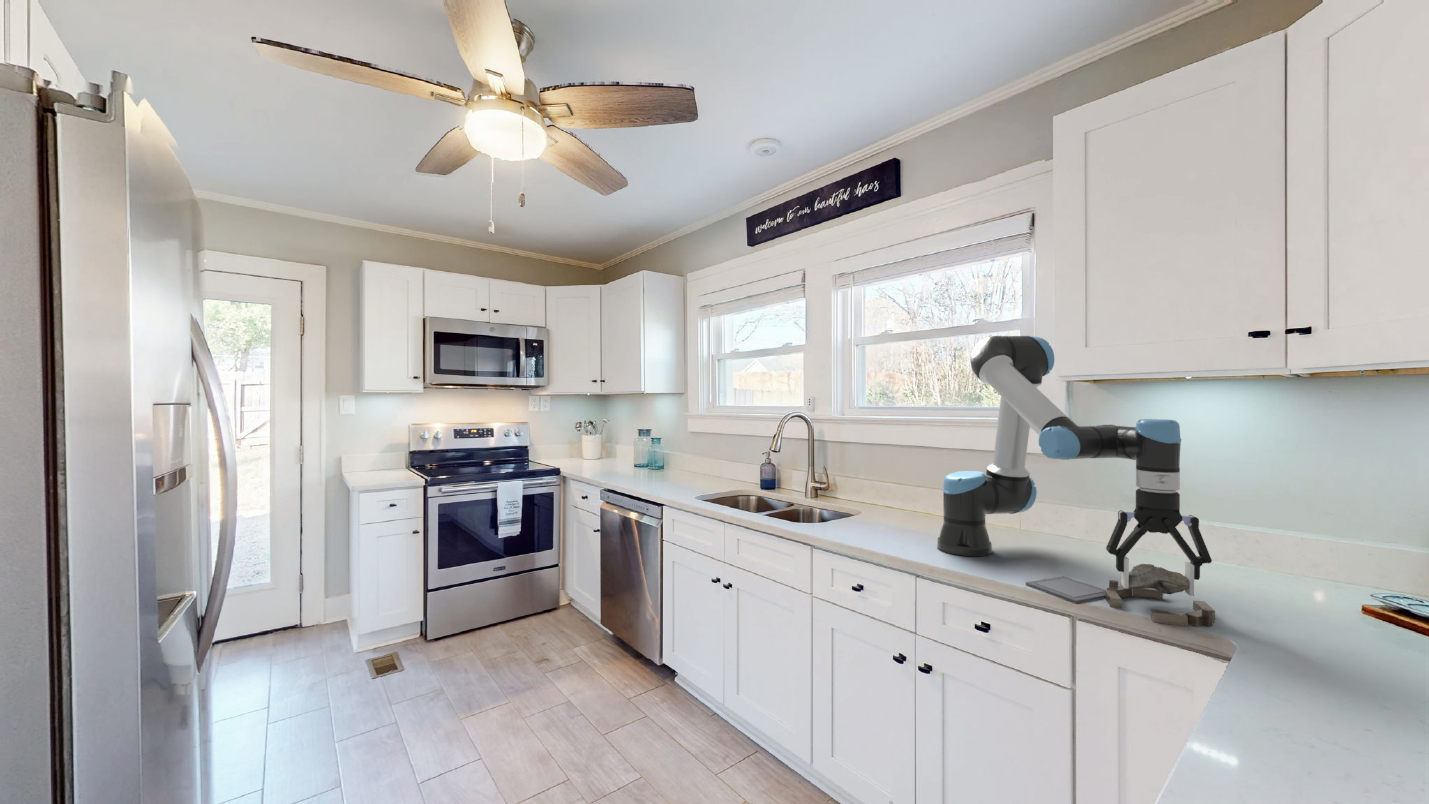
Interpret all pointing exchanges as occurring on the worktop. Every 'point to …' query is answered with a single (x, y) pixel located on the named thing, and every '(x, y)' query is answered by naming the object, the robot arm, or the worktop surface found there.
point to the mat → (1068, 589)
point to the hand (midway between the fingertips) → (1156, 589)
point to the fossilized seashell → (1157, 579)
